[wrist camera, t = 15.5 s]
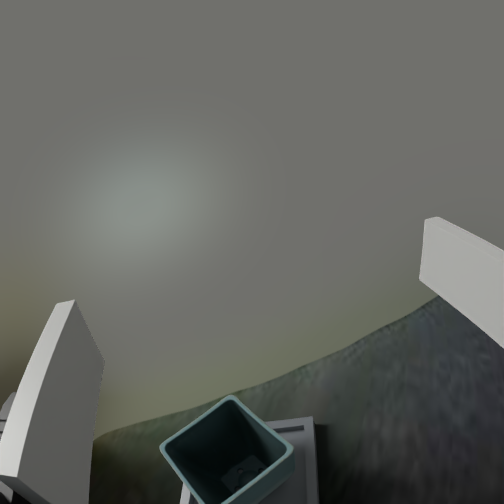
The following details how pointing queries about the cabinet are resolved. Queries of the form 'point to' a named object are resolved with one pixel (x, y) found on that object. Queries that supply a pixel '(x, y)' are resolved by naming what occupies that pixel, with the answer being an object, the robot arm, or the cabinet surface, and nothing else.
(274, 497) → the plant tray
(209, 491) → the flower pot
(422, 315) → the cabinet surface
